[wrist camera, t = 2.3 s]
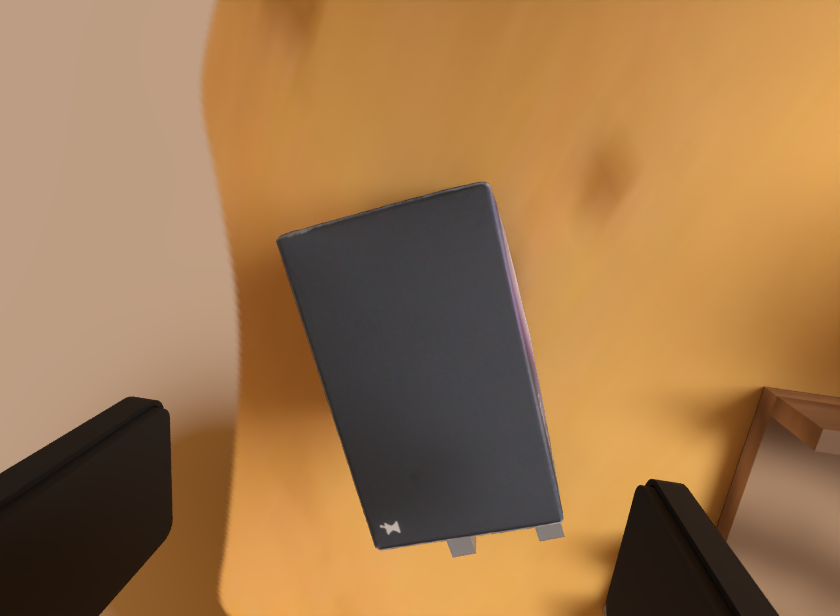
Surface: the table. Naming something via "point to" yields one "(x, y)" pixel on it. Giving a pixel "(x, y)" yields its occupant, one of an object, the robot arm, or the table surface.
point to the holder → (789, 503)
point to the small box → (427, 367)
